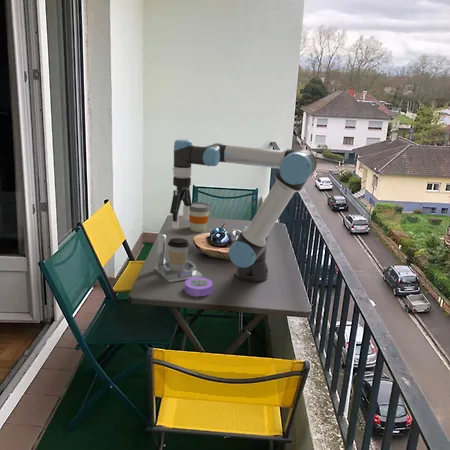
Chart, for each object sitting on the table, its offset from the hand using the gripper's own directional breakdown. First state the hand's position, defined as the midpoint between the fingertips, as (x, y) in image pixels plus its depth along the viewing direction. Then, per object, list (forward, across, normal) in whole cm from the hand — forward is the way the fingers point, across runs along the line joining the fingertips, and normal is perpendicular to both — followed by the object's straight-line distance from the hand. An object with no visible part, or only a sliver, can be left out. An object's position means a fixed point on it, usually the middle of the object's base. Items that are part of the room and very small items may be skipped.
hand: (180, 224), depth 202 cm
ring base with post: (+23, 0, 0) cm, 23 cm away
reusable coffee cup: (+23, -66, -12) cm, 71 cm away
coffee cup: (+22, +3, 0) cm, 22 cm away
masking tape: (+24, +14, +14) cm, 31 cm away
